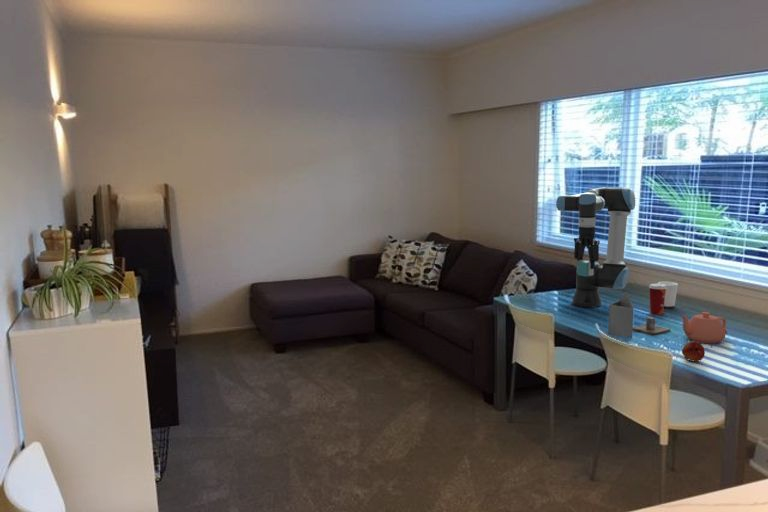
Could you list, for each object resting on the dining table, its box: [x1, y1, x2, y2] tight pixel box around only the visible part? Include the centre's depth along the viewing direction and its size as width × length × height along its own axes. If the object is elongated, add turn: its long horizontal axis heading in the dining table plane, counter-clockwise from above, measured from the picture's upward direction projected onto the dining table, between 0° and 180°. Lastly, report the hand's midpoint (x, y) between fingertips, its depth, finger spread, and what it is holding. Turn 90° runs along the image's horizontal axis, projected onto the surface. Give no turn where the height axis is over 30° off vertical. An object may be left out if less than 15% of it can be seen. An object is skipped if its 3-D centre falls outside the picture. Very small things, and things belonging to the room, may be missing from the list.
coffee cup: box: [649, 283, 667, 316], centre depth 306 cm, size 8×8×15 cm
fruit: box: [681, 341, 706, 362], centre depth 234 cm, size 8×8×8 cm
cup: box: [657, 281, 679, 309], centre depth 320 cm, size 10×10×13 cm
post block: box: [633, 316, 671, 336], centre depth 276 cm, size 12×12×6 cm
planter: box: [608, 291, 634, 339], centre depth 273 cm, size 16×8×19 cm, turn 178°
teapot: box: [680, 311, 728, 344], centre depth 260 cm, size 22×16×12 cm
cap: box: [577, 259, 594, 277], centre depth 285 cm, size 5×5×7 cm
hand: (585, 274), depth 285 cm, fingers closed on cap, 5 cm apart
